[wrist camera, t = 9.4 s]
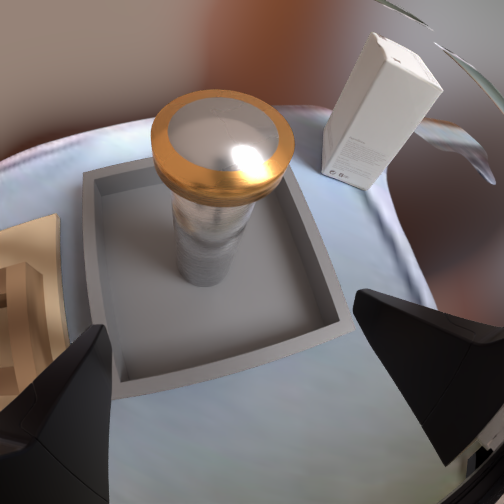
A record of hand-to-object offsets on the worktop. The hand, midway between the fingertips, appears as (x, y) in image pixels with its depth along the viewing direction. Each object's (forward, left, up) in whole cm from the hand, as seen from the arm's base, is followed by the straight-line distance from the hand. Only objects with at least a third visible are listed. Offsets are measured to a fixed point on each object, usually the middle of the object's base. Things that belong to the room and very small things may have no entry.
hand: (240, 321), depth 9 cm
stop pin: (+6, -1, -11) cm, 12 cm away
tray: (+6, -1, -12) cm, 13 cm away
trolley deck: (+3, +17, -12) cm, 21 cm away
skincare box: (+15, -19, -12) cm, 27 cm away
